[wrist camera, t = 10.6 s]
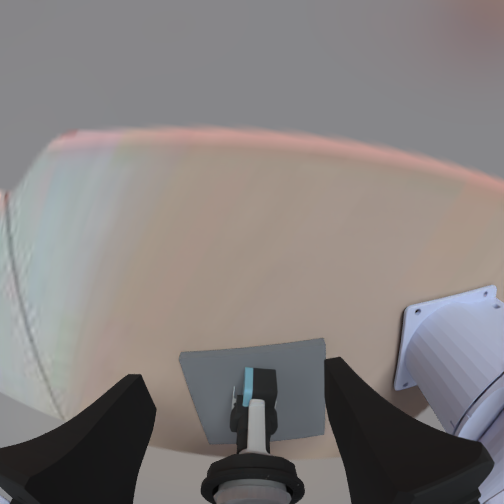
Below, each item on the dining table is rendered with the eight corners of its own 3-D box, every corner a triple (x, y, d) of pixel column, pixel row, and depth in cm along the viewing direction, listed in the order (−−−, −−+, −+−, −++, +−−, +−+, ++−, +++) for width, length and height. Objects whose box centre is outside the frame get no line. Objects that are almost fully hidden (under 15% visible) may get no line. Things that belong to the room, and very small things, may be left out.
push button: (281, 426, 21) (289, 531, 11) (215, 420, 21) (200, 527, 11) (297, 365, 19) (318, 489, 10) (219, 358, 19) (197, 484, 10)
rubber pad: (323, 337, 20) (325, 344, 19) (322, 428, 22) (324, 434, 21) (181, 352, 20) (178, 358, 19) (210, 437, 23) (209, 444, 22)
